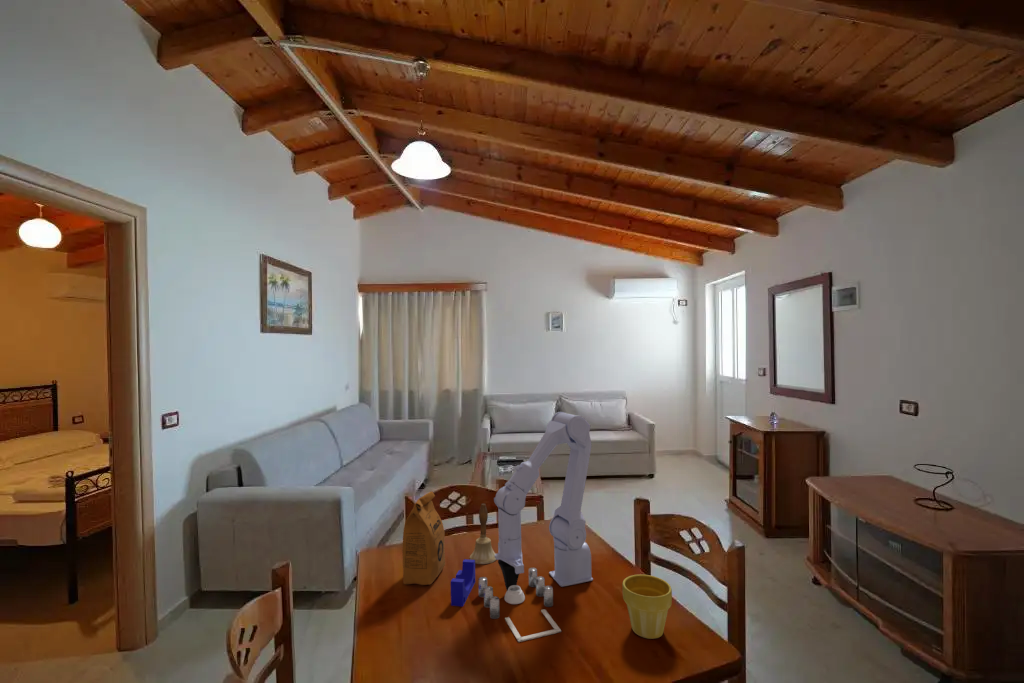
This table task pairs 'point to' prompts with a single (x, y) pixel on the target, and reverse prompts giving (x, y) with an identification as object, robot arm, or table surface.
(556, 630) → the outline bay
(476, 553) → the hand bell
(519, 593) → the white jar
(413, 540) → the coffee package
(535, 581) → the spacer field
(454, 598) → the blue curved block
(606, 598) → the table surface
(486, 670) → the table surface
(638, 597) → the plant pot
